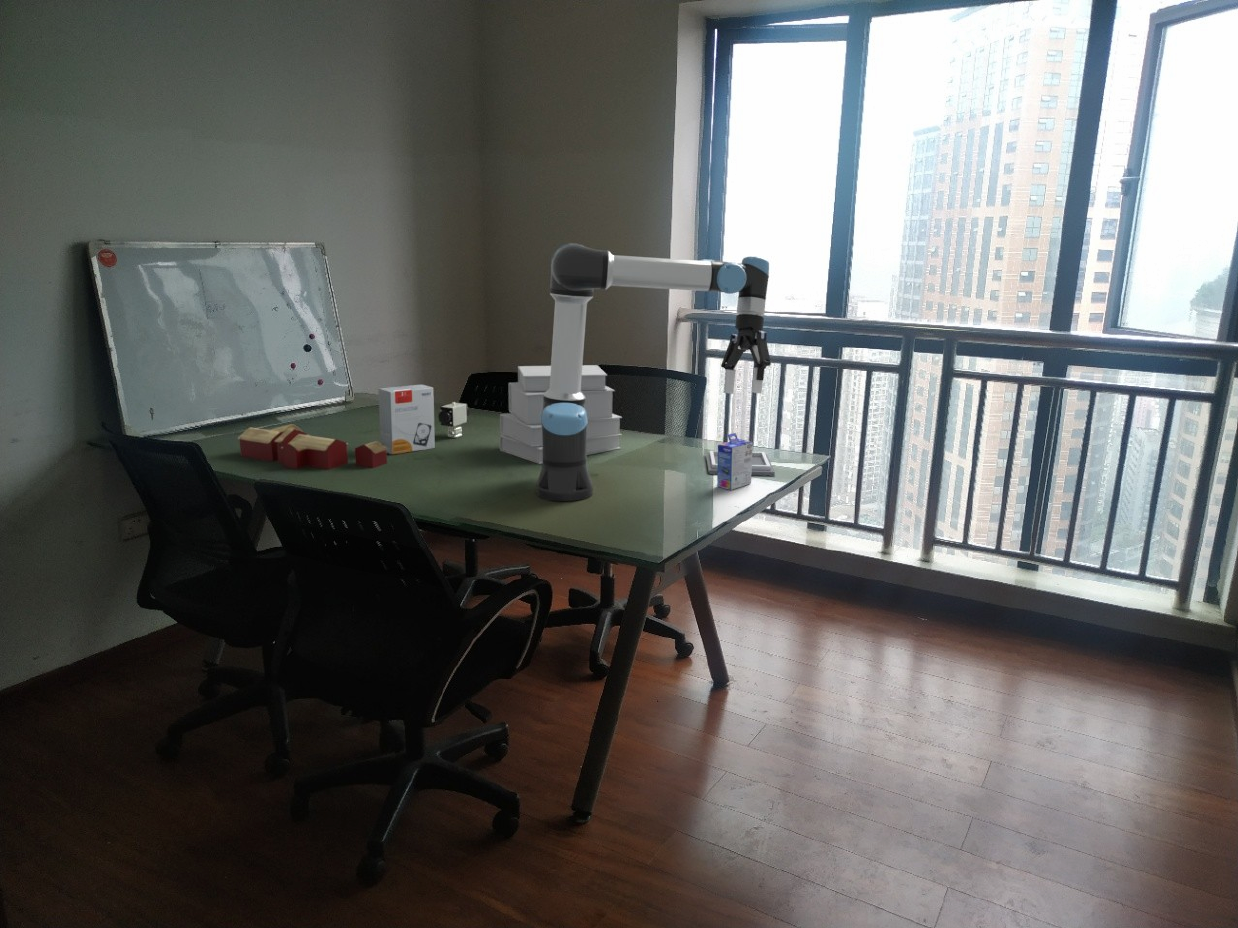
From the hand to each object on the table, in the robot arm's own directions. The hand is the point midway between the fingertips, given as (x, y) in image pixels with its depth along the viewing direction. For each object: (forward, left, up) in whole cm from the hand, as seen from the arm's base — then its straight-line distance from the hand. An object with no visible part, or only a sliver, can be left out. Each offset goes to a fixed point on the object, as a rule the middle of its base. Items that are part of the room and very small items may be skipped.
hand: (741, 393), depth 236 cm
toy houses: (-126, +12, -26) cm, 129 cm away
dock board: (+2, +20, -26) cm, 33 cm away
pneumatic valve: (-92, +47, -26) cm, 107 cm away
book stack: (-54, +34, -26) cm, 69 cm away
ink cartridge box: (-1, -1, -26) cm, 26 cm away
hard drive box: (-102, +28, -26) cm, 109 cm away
